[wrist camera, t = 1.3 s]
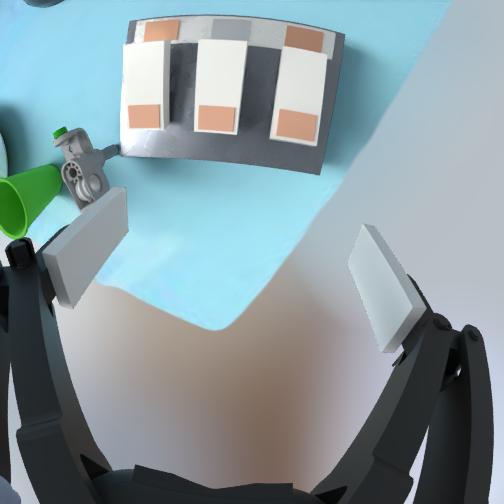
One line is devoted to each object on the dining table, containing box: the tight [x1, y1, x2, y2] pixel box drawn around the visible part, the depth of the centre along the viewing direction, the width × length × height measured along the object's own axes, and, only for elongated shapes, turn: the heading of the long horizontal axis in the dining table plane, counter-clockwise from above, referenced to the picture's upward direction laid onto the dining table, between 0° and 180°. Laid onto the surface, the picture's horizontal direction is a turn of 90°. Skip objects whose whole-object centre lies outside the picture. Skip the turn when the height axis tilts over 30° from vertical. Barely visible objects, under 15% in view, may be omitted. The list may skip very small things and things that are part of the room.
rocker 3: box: [270, 46, 327, 146], centre depth 21 cm, size 9×4×2 cm, turn 173°
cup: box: [0, 165, 62, 240], centre depth 28 cm, size 9×9×11 cm
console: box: [121, 15, 345, 175], centre depth 24 cm, size 16×22×6 cm
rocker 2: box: [194, 39, 249, 135], centre depth 21 cm, size 9×4×2 cm, turn 173°
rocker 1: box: [123, 40, 171, 130], centre depth 20 cm, size 9×4×2 cm, turn 173°
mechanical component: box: [53, 127, 119, 213], centre depth 27 cm, size 3×10×10 cm, turn 17°
